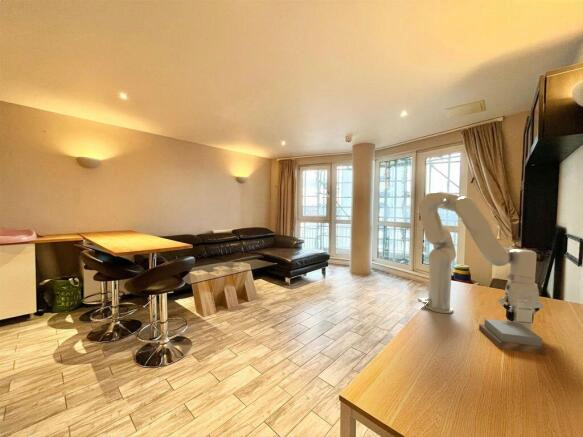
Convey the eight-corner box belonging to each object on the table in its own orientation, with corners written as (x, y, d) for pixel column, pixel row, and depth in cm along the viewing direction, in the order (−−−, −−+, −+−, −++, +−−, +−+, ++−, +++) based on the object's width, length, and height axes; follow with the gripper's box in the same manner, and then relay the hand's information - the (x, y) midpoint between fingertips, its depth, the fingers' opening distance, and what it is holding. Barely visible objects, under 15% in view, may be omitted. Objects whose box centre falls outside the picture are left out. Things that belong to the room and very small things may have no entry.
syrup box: (532, 335, 97) (534, 300, 96) (515, 333, 98) (517, 299, 97) (521, 328, 102) (523, 295, 101) (505, 326, 103) (507, 294, 103)
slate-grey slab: (502, 341, 88) (502, 333, 87) (484, 325, 99) (484, 318, 99) (541, 346, 85) (542, 338, 84) (518, 329, 96) (519, 322, 96)
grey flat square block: (499, 350, 87) (500, 342, 87) (478, 330, 101) (479, 324, 100) (545, 356, 84) (546, 348, 84) (517, 335, 98) (518, 328, 97)
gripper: (503, 280, 97) (501, 322, 98) (554, 283, 93) (551, 327, 94) (492, 274, 104) (490, 314, 105) (539, 278, 100) (536, 319, 101)
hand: (519, 320), depth 100 cm, fingers open, 6 cm apart
